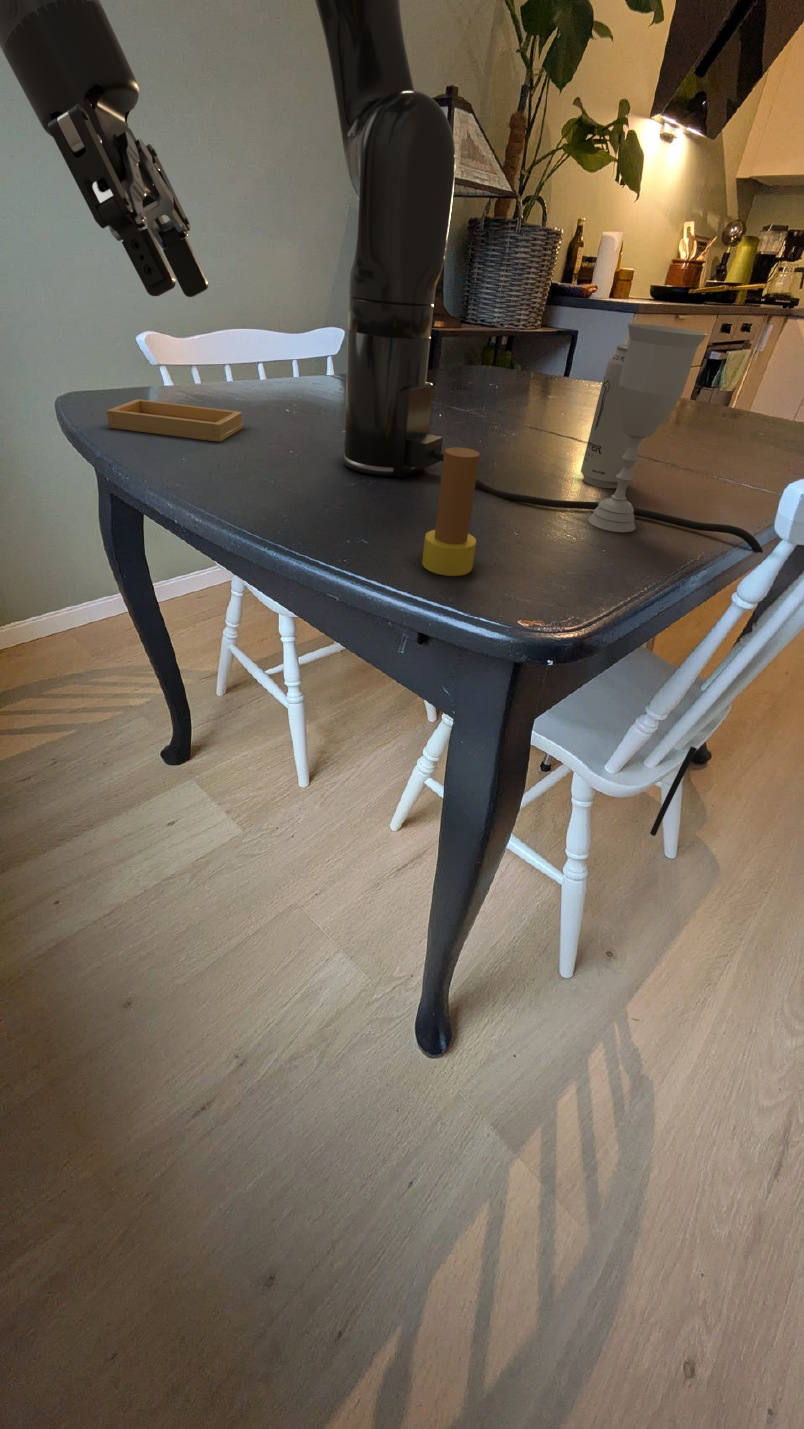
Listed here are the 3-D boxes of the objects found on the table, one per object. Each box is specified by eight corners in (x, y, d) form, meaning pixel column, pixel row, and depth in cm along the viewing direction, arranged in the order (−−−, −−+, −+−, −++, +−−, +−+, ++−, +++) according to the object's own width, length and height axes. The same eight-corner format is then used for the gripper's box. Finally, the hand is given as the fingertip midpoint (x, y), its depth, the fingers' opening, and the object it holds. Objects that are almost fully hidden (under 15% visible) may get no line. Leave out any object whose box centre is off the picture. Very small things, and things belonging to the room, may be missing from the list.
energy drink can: (576, 473, 83) (607, 342, 74) (621, 478, 83) (658, 347, 74) (582, 486, 78) (616, 348, 69) (630, 492, 78) (671, 354, 69)
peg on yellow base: (480, 564, 56) (498, 452, 50) (458, 581, 53) (476, 463, 47) (436, 551, 58) (449, 441, 52) (413, 566, 54) (424, 451, 49)
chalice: (565, 513, 69) (611, 322, 59) (615, 510, 72) (668, 325, 61) (607, 538, 64) (665, 333, 53) (658, 533, 66) (725, 336, 56)
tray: (242, 428, 87) (241, 411, 86) (220, 442, 81) (218, 424, 80) (139, 415, 89) (137, 399, 87) (109, 427, 82) (106, 410, 81)
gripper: (44, -50, 36) (195, 268, 45) (137, 36, 48) (243, 274, 56) (-55, 22, 38) (108, 315, 46) (59, 87, 50) (173, 312, 58)
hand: (182, 292), depth 51 cm, fingers open, 8 cm apart
